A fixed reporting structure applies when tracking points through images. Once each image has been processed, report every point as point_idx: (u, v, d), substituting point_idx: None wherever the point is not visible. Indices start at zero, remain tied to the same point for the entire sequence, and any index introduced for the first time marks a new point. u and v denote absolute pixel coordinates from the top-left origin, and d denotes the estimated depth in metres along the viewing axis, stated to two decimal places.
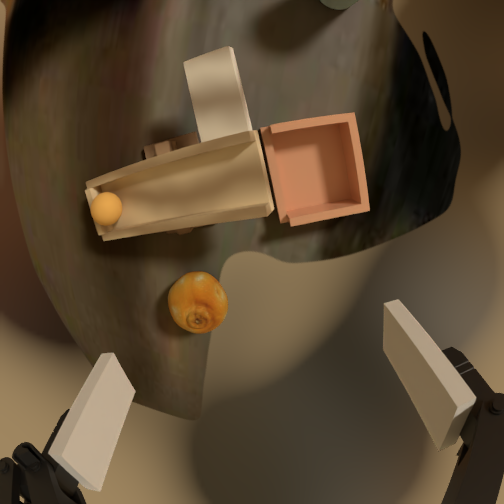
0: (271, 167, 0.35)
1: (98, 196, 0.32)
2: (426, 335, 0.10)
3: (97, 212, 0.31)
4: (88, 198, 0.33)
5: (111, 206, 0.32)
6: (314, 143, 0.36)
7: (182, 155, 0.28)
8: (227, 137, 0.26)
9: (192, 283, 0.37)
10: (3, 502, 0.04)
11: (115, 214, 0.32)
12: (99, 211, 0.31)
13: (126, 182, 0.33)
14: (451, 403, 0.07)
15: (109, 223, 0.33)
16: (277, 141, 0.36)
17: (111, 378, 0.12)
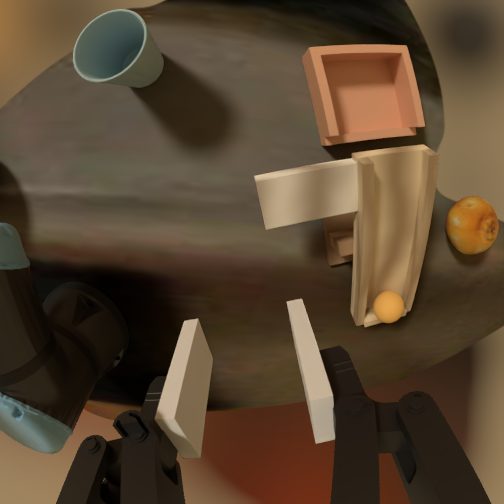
0: (366, 137, 0.31)
1: (378, 314, 0.34)
2: (310, 332, 0.12)
3: (395, 316, 0.33)
4: (372, 323, 0.36)
5: (391, 302, 0.33)
6: (336, 90, 0.31)
7: (369, 231, 0.27)
8: (365, 186, 0.24)
9: (461, 229, 0.32)
10: (79, 488, 0.06)
11: (398, 298, 0.33)
12: (394, 315, 0.32)
13: (368, 285, 0.34)
14: None
15: (403, 304, 0.33)
16: None
17: (199, 343, 0.14)
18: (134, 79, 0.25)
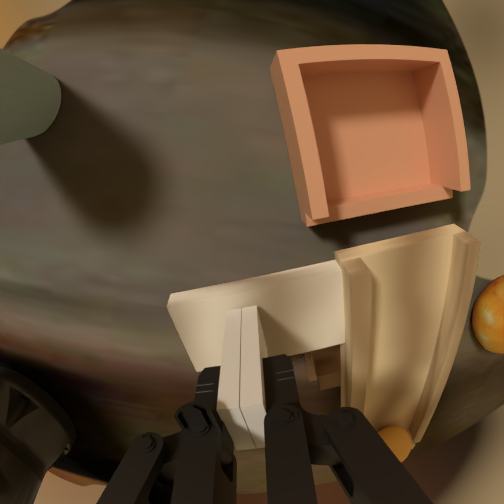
0: (375, 208, 0.19)
1: None
2: (256, 340, 0.12)
3: None
4: None
5: (393, 445, 0.19)
6: (328, 125, 0.19)
7: (363, 374, 0.16)
8: (355, 312, 0.14)
9: (494, 329, 0.20)
10: (126, 489, 0.06)
11: (403, 438, 0.19)
12: None
13: None
14: None
15: (411, 444, 0.19)
16: (325, 190, 0.21)
17: None
18: None
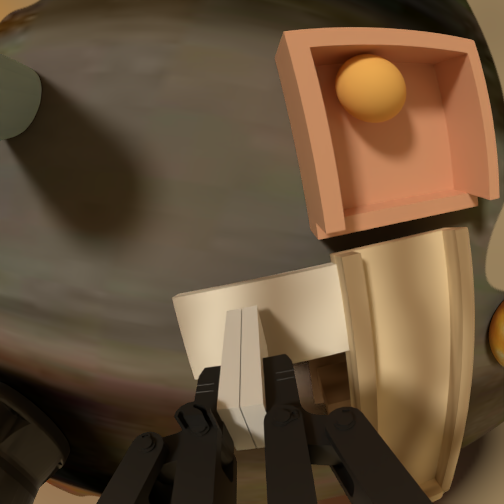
0: (396, 218, 0.16)
1: (336, 86, 0.14)
2: (256, 339, 0.12)
3: None
4: None
5: None
6: (342, 121, 0.16)
7: (371, 381, 0.14)
8: (351, 298, 0.14)
9: None
10: (126, 489, 0.06)
11: None
12: None
13: None
14: None
15: None
16: None
17: None
18: None
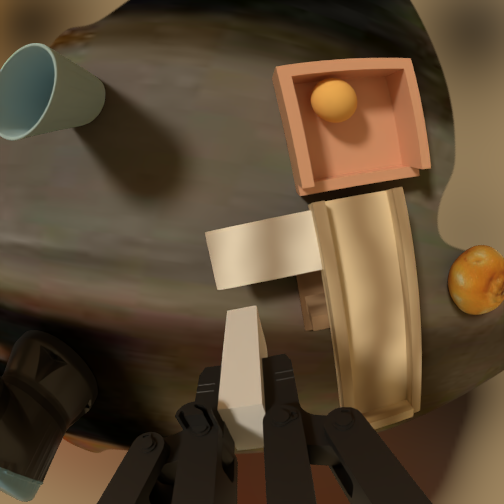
0: (353, 183, 0.25)
1: None
2: (256, 340, 0.12)
3: None
4: None
5: None
6: (316, 120, 0.25)
7: (337, 289, 0.24)
8: (319, 228, 0.23)
9: (465, 290, 0.26)
10: (127, 489, 0.06)
11: None
12: None
13: (356, 377, 0.26)
14: None
15: None
16: (315, 170, 0.27)
17: None
18: (60, 126, 0.20)
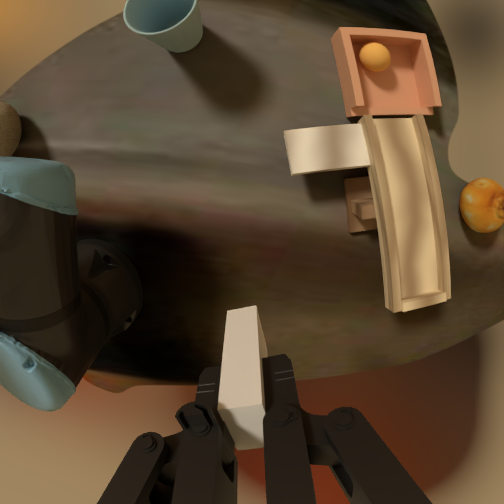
0: (388, 112, 0.31)
1: (359, 54, 0.29)
2: (256, 340, 0.12)
3: None
4: (411, 307, 0.30)
5: None
6: (361, 69, 0.31)
7: (383, 175, 0.30)
8: (369, 132, 0.29)
9: (474, 205, 0.32)
10: (127, 489, 0.06)
11: None
12: None
13: (398, 259, 0.32)
14: None
15: None
16: None
17: None
18: (178, 39, 0.26)
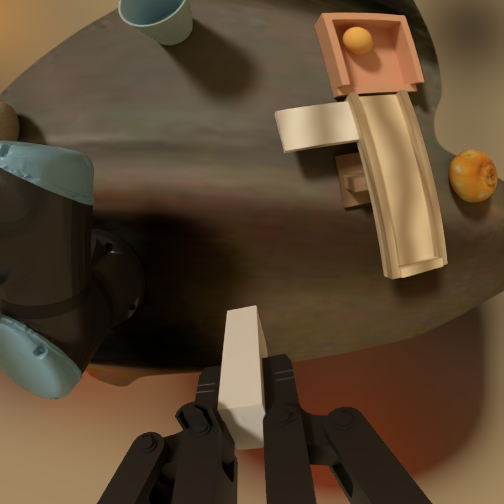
0: (373, 90, 0.33)
1: None
2: (256, 340, 0.12)
3: None
4: (410, 273, 0.31)
5: None
6: (345, 52, 0.32)
7: (372, 148, 0.31)
8: (356, 108, 0.30)
9: (463, 175, 0.33)
10: (126, 489, 0.06)
11: None
12: None
13: (393, 227, 0.33)
14: None
15: None
16: None
17: None
18: (171, 31, 0.26)
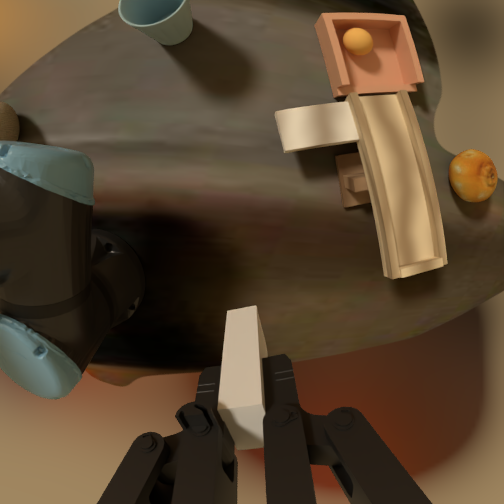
0: (373, 90, 0.33)
1: (343, 39, 0.30)
2: (256, 340, 0.12)
3: None
4: (410, 273, 0.31)
5: None
6: (345, 52, 0.32)
7: (372, 147, 0.31)
8: (355, 108, 0.30)
9: (463, 175, 0.33)
10: (127, 489, 0.06)
11: None
12: None
13: (393, 227, 0.33)
14: None
15: None
16: None
17: None
18: (171, 31, 0.26)
